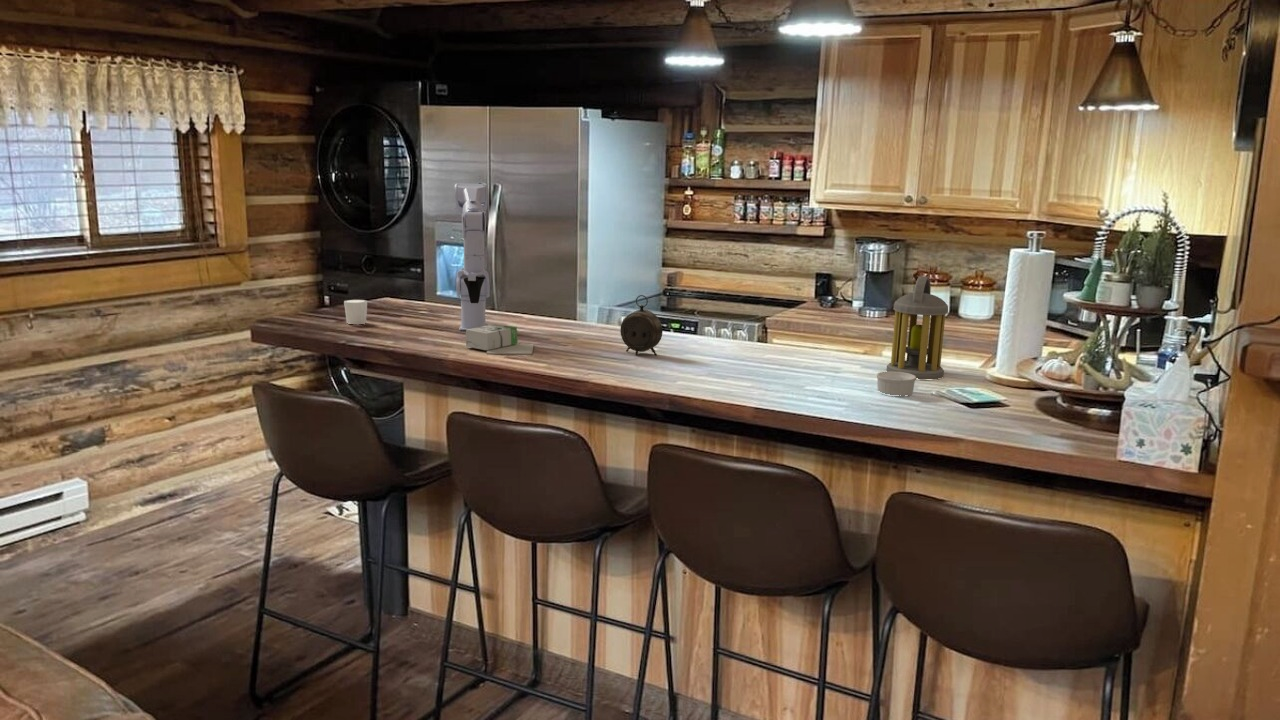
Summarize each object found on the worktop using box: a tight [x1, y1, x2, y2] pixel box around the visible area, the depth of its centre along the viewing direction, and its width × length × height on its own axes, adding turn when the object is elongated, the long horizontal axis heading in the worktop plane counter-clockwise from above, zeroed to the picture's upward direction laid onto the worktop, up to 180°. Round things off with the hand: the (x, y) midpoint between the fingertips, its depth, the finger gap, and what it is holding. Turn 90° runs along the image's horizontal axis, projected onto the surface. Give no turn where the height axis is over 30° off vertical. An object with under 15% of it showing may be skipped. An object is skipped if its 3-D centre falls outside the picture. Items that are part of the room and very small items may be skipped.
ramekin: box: [876, 371, 917, 396], centre depth 223 cm, size 9×9×4 cm
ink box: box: [465, 323, 518, 351], centre depth 261 cm, size 9×5×12 cm
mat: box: [486, 343, 535, 355], centre depth 259 cm, size 12×12×1 cm
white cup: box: [343, 299, 368, 325], centre depth 291 cm, size 7×7×7 cm
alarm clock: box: [620, 294, 663, 356], centre depth 256 cm, size 11×5×16 cm, turn 66°
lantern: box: [885, 275, 949, 380], centre depth 241 cm, size 14×14×25 cm
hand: (474, 302), depth 270 cm, fingers closed
